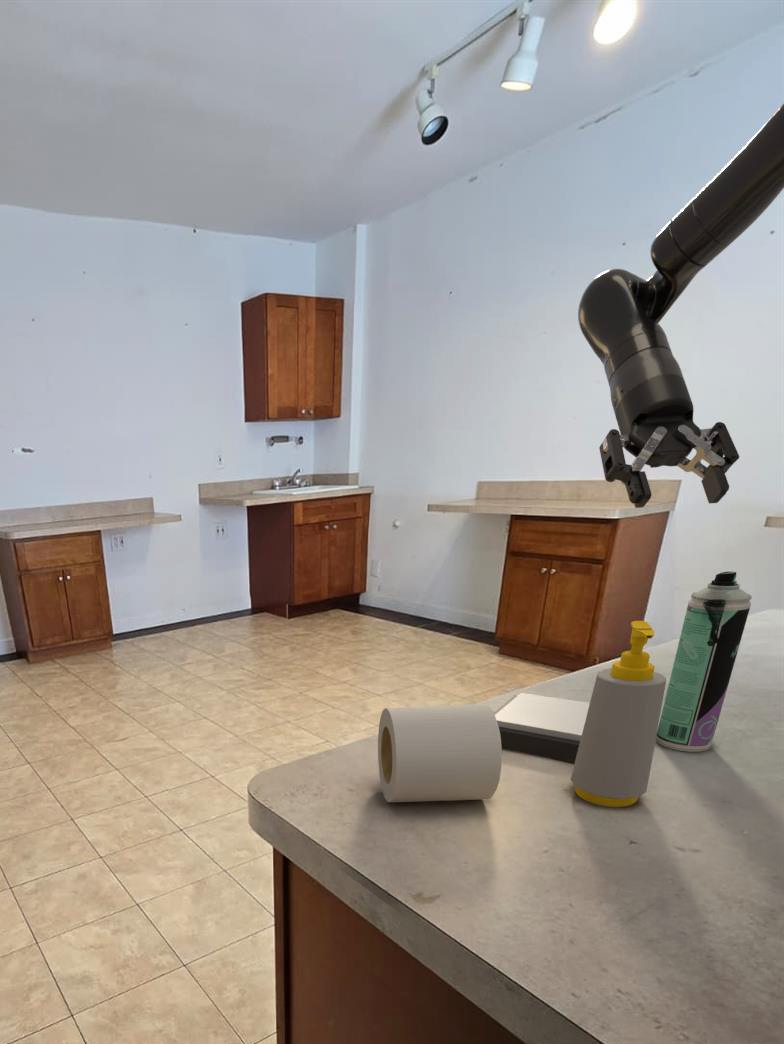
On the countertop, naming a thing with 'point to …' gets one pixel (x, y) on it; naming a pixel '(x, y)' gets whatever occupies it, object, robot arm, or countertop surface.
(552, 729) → the scale
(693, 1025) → the countertop surface
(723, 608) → the spray can
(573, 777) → the soap bottle
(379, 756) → the toilet paper
